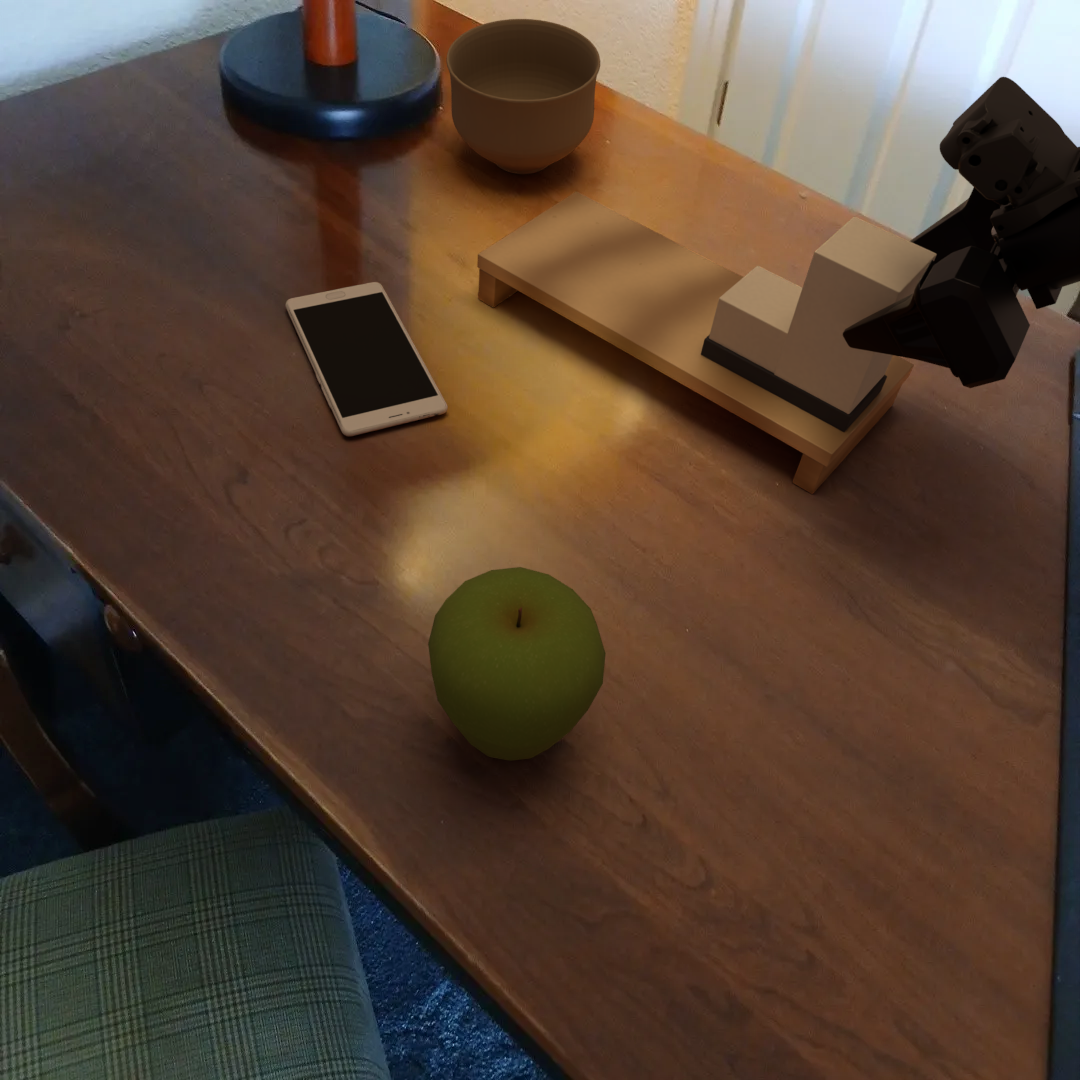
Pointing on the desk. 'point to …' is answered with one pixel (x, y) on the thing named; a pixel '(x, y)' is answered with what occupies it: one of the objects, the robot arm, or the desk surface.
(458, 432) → the desk surface
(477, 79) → the bowl
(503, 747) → the apple
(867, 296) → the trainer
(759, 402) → the platform
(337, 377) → the smartphone
